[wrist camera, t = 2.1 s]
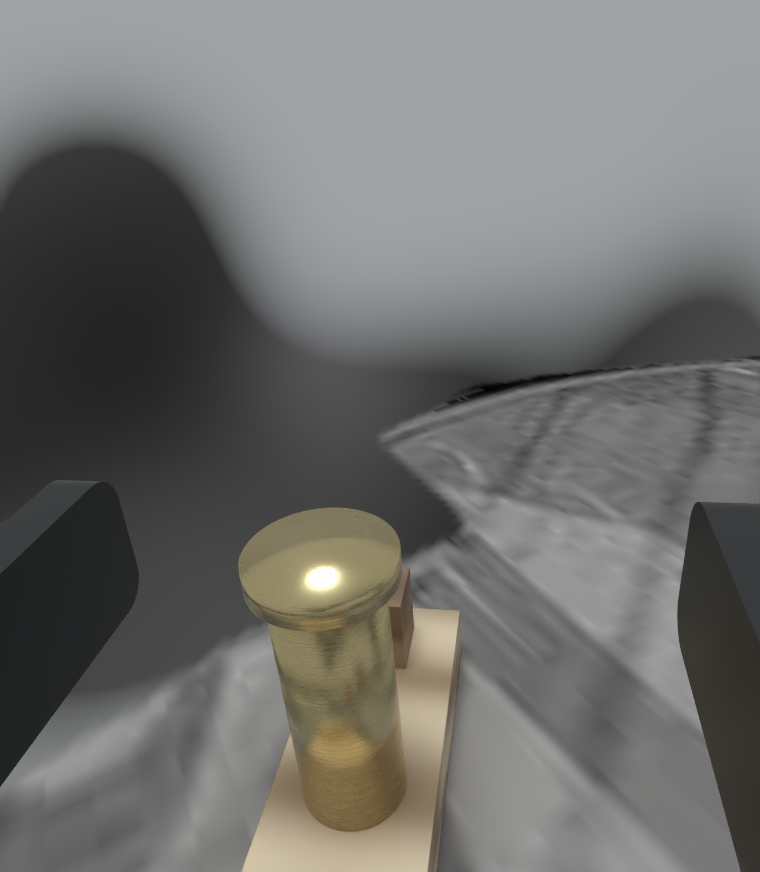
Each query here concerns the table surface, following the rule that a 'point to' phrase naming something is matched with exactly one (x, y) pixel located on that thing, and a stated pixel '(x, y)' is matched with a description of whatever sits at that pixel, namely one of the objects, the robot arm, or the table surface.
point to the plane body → (424, 760)
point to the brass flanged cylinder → (334, 656)
